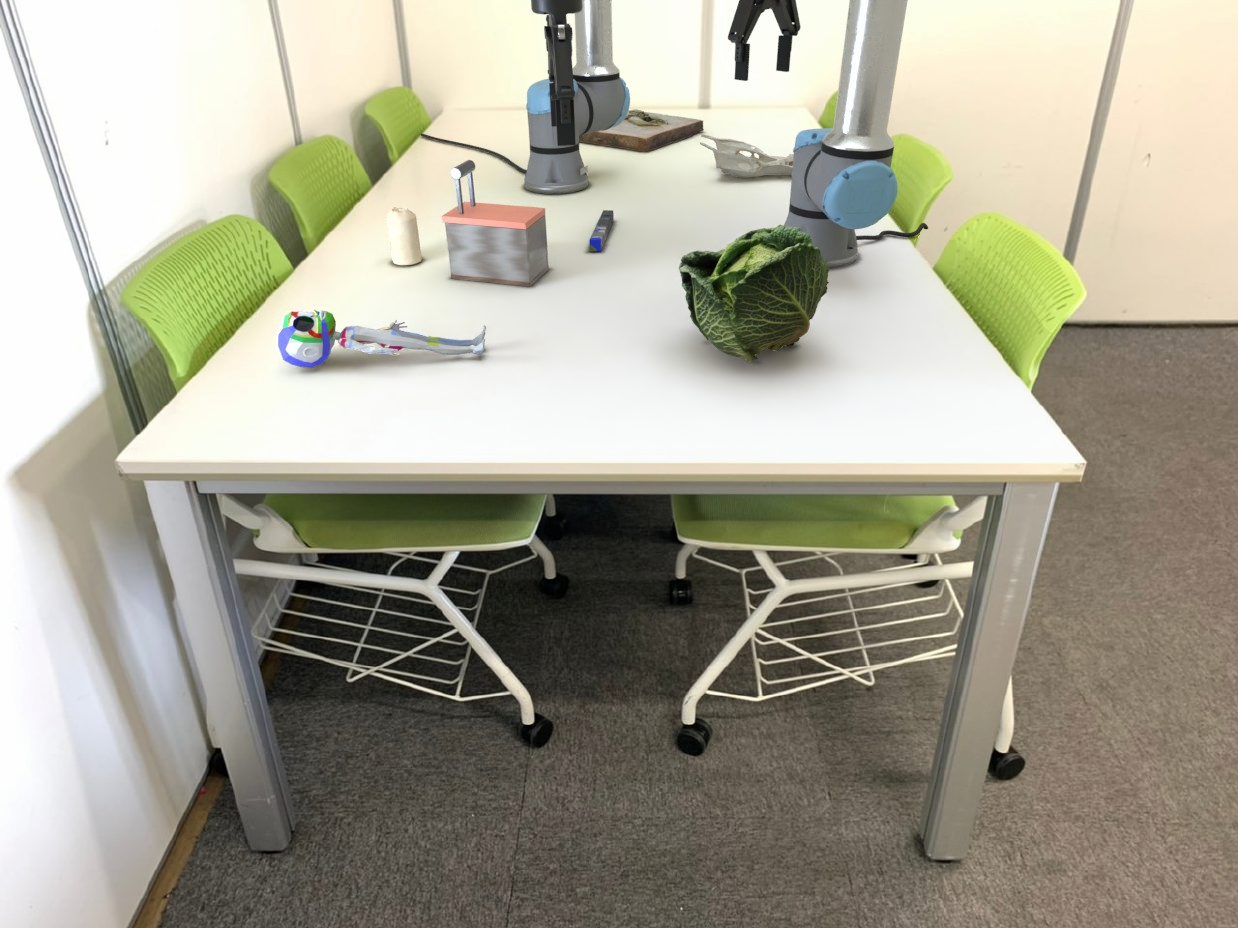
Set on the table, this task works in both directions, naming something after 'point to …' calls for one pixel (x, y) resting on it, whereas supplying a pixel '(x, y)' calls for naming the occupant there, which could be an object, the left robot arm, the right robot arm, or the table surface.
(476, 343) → the toy
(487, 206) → the lid
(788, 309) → the vegetable
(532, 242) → the chest
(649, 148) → the plaque
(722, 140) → the anatomical model
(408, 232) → the candle
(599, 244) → the pillar
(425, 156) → the table surface
